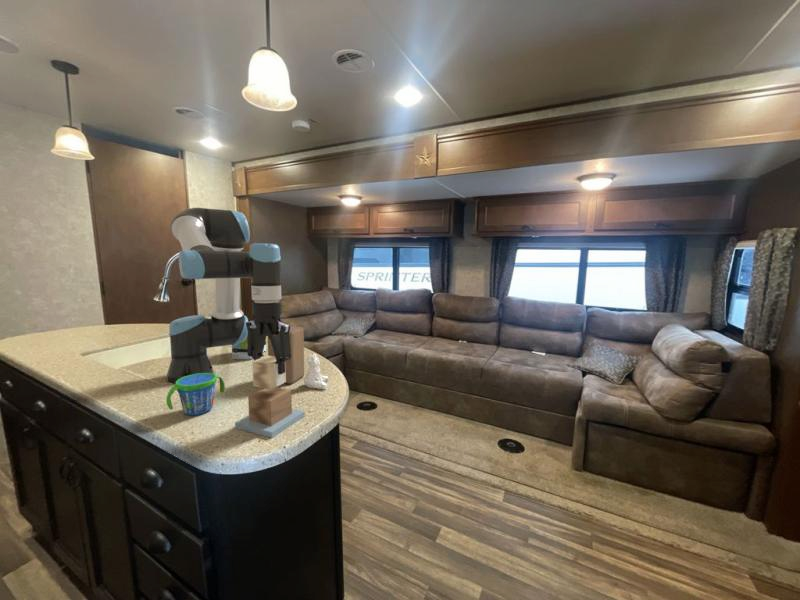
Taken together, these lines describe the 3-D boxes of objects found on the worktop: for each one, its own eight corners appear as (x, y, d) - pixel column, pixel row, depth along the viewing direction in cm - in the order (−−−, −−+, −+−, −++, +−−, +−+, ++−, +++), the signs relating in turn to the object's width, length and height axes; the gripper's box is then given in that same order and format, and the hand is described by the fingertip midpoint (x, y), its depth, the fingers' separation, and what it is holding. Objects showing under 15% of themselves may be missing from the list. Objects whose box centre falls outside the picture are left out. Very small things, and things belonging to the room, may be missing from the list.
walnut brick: (249, 420, 91) (248, 396, 90) (270, 408, 98) (269, 386, 98) (271, 426, 88) (270, 401, 87) (291, 413, 95) (291, 390, 95)
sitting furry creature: (326, 390, 117) (326, 357, 115) (301, 391, 115) (301, 358, 114) (328, 380, 126) (328, 350, 124) (305, 381, 125) (304, 350, 123)
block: (292, 385, 121) (290, 331, 118) (268, 382, 123) (266, 330, 120) (305, 375, 131) (304, 326, 128) (282, 373, 133) (281, 325, 130)
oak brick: (253, 385, 90) (252, 361, 89) (269, 378, 96) (268, 355, 95) (270, 389, 88) (269, 364, 87) (285, 381, 94) (285, 358, 93)
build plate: (235, 427, 90) (235, 422, 90) (270, 408, 102) (270, 403, 102) (272, 437, 85) (272, 432, 85) (304, 416, 97) (304, 411, 97)
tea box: (253, 360, 150) (252, 328, 148) (231, 359, 150) (230, 328, 148) (267, 351, 165) (266, 322, 163) (247, 350, 165) (246, 321, 163)
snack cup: (174, 426, 90) (171, 390, 89) (162, 414, 97) (160, 381, 96) (232, 407, 102) (231, 376, 101) (218, 398, 109) (217, 368, 108)
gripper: (229, 300, 89) (233, 382, 92) (285, 304, 82) (287, 393, 85) (251, 297, 96) (254, 374, 99) (304, 301, 89) (306, 383, 92)
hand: (269, 382), depth 92 cm, fingers closed on oak brick, 6 cm apart
